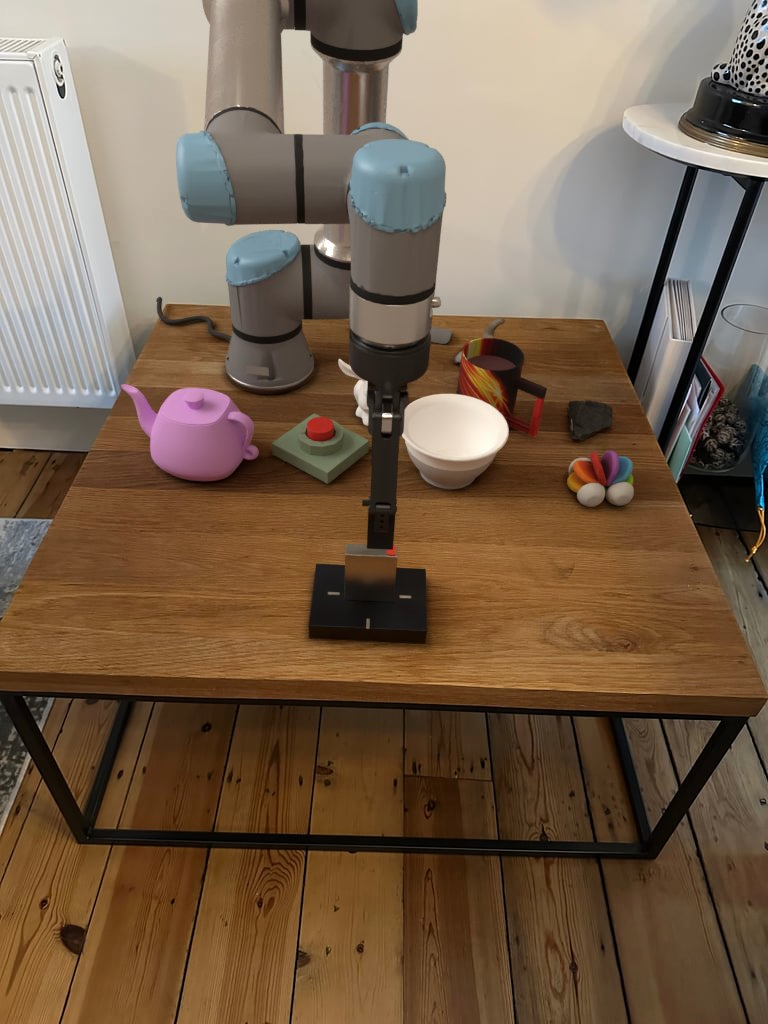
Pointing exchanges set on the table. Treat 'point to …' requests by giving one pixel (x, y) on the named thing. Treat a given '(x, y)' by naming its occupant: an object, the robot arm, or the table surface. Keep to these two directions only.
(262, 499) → the table surface
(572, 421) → the rock
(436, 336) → the half round rod
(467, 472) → the bowl
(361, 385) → the rabbit
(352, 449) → the button box
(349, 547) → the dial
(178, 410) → the teapot
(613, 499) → the rainbow petal toy
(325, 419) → the button
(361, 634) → the control panel
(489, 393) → the mug
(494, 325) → the skull
